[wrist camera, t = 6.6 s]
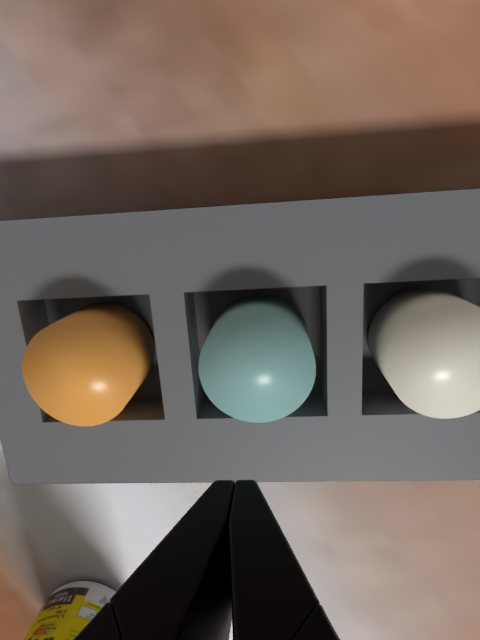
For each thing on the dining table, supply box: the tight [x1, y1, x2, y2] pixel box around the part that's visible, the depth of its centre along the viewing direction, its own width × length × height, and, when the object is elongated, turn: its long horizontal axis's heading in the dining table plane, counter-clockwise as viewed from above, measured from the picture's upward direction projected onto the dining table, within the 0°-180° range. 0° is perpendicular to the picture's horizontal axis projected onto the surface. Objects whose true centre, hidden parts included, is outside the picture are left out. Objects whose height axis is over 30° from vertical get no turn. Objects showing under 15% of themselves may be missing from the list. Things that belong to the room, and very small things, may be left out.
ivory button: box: [368, 287, 480, 419], centre depth 16 cm, size 4×4×3 cm
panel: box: [0, 189, 480, 484], centre depth 18 cm, size 24×12×3 cm, turn 94°
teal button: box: [198, 295, 316, 423], centre depth 17 cm, size 4×4×3 cm
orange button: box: [22, 302, 155, 427], centre depth 17 cm, size 4×4×3 cm
